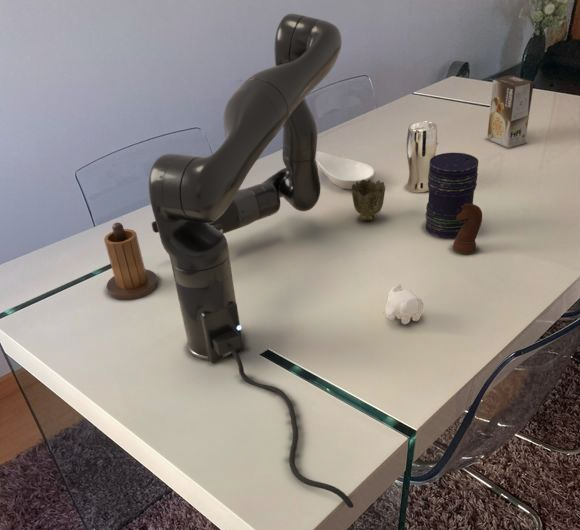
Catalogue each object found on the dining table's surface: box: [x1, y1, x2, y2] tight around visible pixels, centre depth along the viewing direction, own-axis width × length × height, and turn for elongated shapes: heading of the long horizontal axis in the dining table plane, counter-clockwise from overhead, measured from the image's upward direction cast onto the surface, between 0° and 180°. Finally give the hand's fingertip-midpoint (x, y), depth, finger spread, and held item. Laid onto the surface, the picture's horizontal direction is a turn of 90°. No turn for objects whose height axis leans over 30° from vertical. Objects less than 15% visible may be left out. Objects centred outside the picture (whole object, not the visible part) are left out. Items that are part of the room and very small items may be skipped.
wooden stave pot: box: [103, 228, 147, 289], centre depth 125 cm, size 6×6×10 cm
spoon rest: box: [316, 150, 376, 190], centre depth 161 cm, size 24×12×7 cm, turn 62°
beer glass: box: [406, 120, 438, 194], centre depth 152 cm, size 7×7×15 cm
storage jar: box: [425, 152, 479, 240], centre depth 134 cm, size 10×10×15 cm
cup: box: [351, 179, 386, 222], centre depth 142 cm, size 8×7×8 cm
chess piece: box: [452, 203, 483, 256], centre depth 128 cm, size 5×5×10 cm
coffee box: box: [486, 74, 535, 149], centre depth 171 cm, size 9×6×16 cm
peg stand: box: [106, 222, 159, 301], centre depth 124 cm, size 10×10×14 cm
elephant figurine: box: [383, 284, 427, 325], centre depth 111 cm, size 7×8×6 cm
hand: (161, 235), depth 127 cm, fingers open, 8 cm apart
